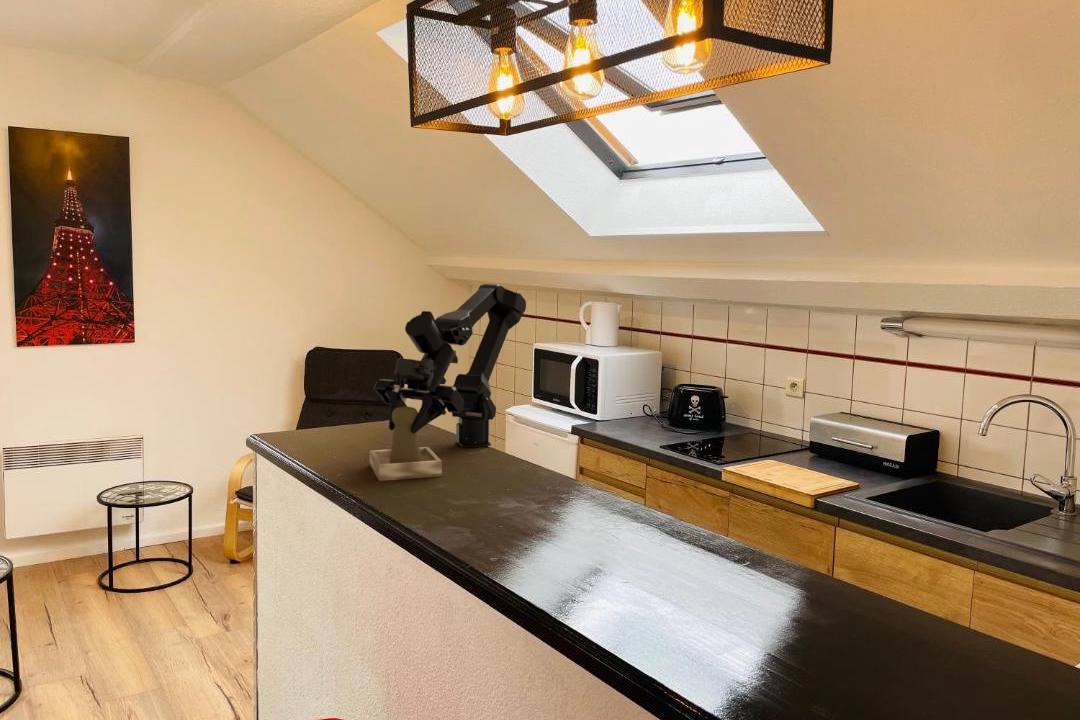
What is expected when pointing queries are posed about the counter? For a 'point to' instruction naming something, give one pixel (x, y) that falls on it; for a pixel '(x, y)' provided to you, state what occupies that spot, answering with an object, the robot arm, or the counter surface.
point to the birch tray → (405, 465)
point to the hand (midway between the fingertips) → (401, 430)
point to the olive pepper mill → (404, 436)
